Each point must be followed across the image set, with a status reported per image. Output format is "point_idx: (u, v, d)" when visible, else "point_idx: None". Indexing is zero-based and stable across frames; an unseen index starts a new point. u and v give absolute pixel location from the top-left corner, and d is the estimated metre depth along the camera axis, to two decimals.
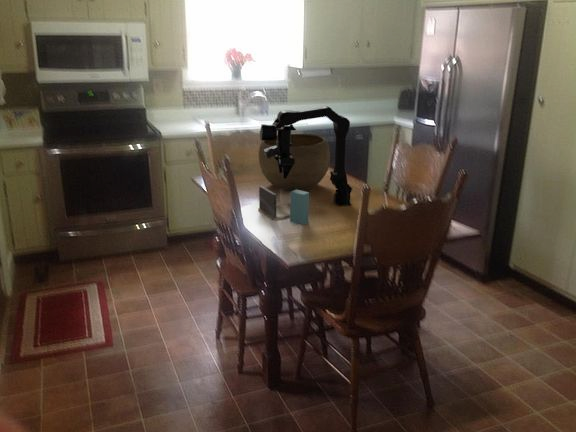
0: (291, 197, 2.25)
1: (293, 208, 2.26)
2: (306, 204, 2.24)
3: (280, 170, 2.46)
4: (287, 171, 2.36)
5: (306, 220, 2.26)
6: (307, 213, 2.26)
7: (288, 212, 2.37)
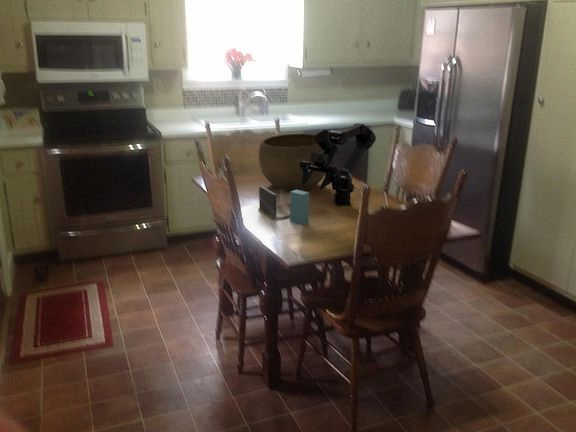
0: (291, 197, 2.25)
1: (293, 208, 2.26)
2: (306, 204, 2.24)
3: (304, 182, 2.32)
4: (327, 183, 2.28)
5: (306, 220, 2.26)
6: (307, 213, 2.26)
7: (288, 212, 2.37)
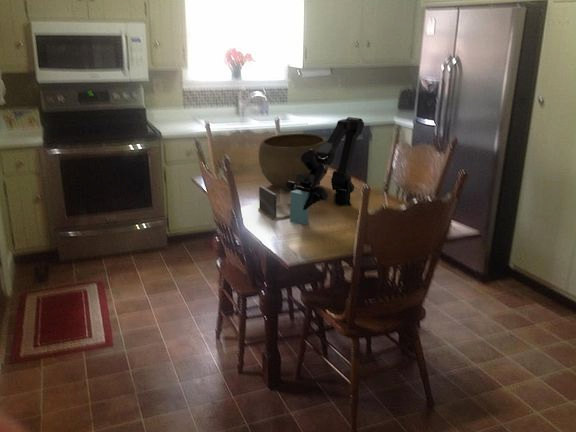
0: (291, 197, 2.25)
1: (293, 208, 2.26)
2: None
3: None
4: (310, 204, 2.24)
5: (306, 220, 2.26)
6: (307, 213, 2.26)
7: (288, 212, 2.37)
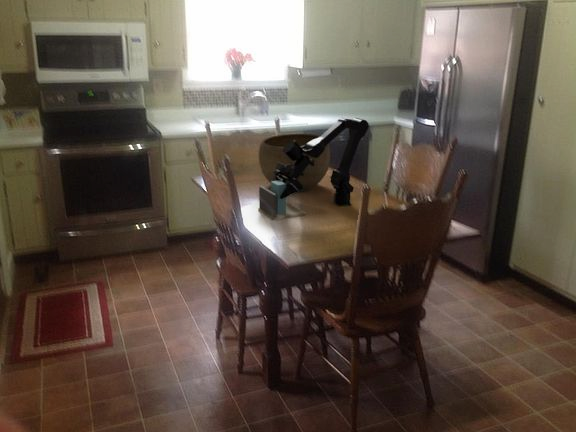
0: (271, 187, 2.35)
1: None
2: None
3: None
4: (288, 194, 2.30)
5: (283, 210, 2.34)
6: (284, 204, 2.34)
7: (288, 212, 2.37)
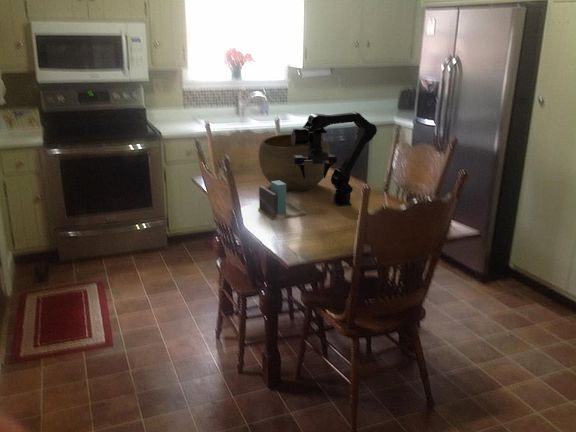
0: (271, 187, 2.35)
1: None
2: (283, 195, 2.32)
3: None
4: None
5: (283, 210, 2.34)
6: (284, 204, 2.34)
7: (288, 212, 2.37)
